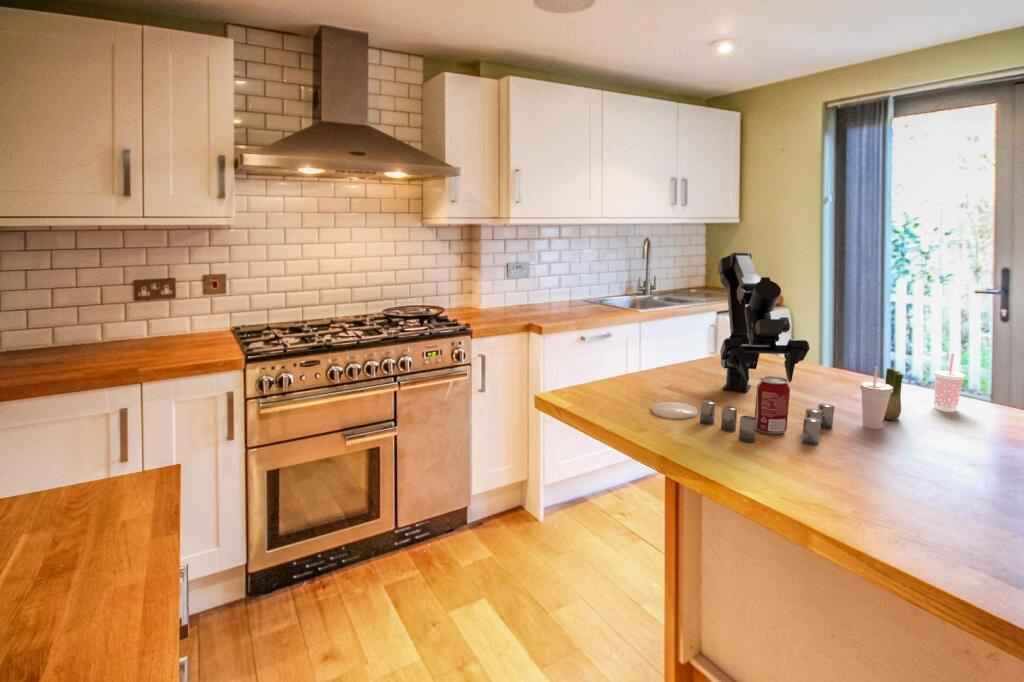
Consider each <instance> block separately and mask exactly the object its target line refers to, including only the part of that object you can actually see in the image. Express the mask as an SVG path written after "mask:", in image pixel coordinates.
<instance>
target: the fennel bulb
mask: <svg viewBox="0 0 1024 682" xmlns="http://www.w3.org/2000/svg"><path fill="white" fill-rule="evenodd" d="M885 372H886V373H885V383H884V384H888V385H890V386H892V387H893V392H892V393H891V394H890V398H889V401H888V405H887V409H886V412H885V416H884V420H891V421H895V420H897V419H899V418H900V415H901V412H902V401H901V399H902V398H901V395H902V394H901V393H902V381H903V378H904V377H903V376H904V375H903V373H901V372H900V371H898V370H895V369H894V368H890V367H886V371H885Z"/></svg>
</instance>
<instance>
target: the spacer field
mask: <svg viewBox="0 0 1024 682" xmlns="http://www.w3.org/2000/svg"><path fill="white" fill-rule="evenodd" d="M715 412H716V402H715V401H713V400H705V399H704V400H702V401H700V416H699V423H700V424H701V425H704V426H714V425H715V417H716V413H715ZM834 413H835V405H833V404H831V403H818V409H817V408H806V409H805V417H804V419H803V427H802V438H801V442H802V443H803V444H805V445H807V446H818V445H819V443H820V435H821V429H822V428H823V429H824V430H831V429H833V424H834V416H835V415H834ZM737 417H738V408H737V407H734V406H730V405H729V406H728V405H724V406H722V408H721V423H720V424H721V425H720V430H721V431H723V432H727V433H733V432H736V430H737V419H738V418H737ZM739 418H740V420H739V434H738V441H740V442H741V443H746V444H753V443H755V441H756V431H757V429H756V418H755V416H752V415H743V416H740V417H739ZM823 429H822V430H823Z"/></svg>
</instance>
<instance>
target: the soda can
mask: <svg viewBox="0 0 1024 682" xmlns="http://www.w3.org/2000/svg"><path fill="white" fill-rule="evenodd" d="M788 383H789V382H788V379H786V378H784V377H781V376H773V375H771V376H770V375H768V376H767V375H766V376H762V377H760V381H759V383H758V384H757V385H756V391H755V392H756V395H755V407H754V417H755V418H756V431H758V432H760V433H761V434H764V435H769V436H771V435H773V436H774V435H781V434H784V433H786V432H787V430H788V429H787V428H788V415H789V407H790V393H791V388H790V386H789V384H788Z"/></svg>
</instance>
